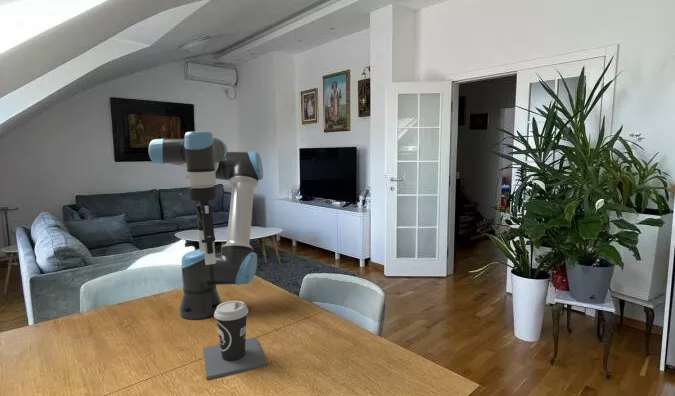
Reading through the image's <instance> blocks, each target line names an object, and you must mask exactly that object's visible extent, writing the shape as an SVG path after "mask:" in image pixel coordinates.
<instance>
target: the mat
mask: <svg viewBox="0 0 675 396" xmlns="http://www.w3.org/2000/svg"><path fill="white" fill-rule="evenodd" d="M202 351H203V359H204V368H205V375H206V380H207V381H208V380H211V379H215V378H220V377H224V376H225V377H226V376H228V375H233V374H237V373H242V372H245V371H249V370H254V369H259V368H263V367H266V366H268V363H267V361H266V357H265V355H264V353H263V351H262V348H261V345H260V343H259V341H258V338H257V336H255V337H249V338H248V337H247V338H246V342H245V355H244V356H243V357H242V358H241V359H239V360H236V361H226V360H224V359H223V358H222V354H221V347H220V343H219V344H215V345H214V344H213V345H211V346H209V345H208V346H204V347H203V348H202Z"/></svg>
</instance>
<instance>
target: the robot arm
mask: <svg viewBox="0 0 675 396" xmlns="http://www.w3.org/2000/svg"><path fill="white" fill-rule="evenodd" d="M148 155H149V156H148V157H149V158H150V160H151V162H152V163H155V164H162V165H164V164H171V165H175V166H179V167H181V168H186V172H187V175H185V176H184V178H185V179H186V180H187V185H188V186H189V187H188V189H187V190H188V200H189V201H192V202H196V205H195V210H196V215H197V216H196V217H197V218H196V219H197V221H196V222H197V224H196V226H197V230H198V244H199V248H198V249H195V250H191V251H188V252H186V253H184V255H182V257H181V267H180V268H181V275H182V276H181V277H182V287H183V295H182V298H181V302H180V306H179V316H180V317H181V318H183V319H187V320H202V319H207V318H210V317H214V313H215V310H216V309H217V306H218V305H219V304H221V303H223V300H222V299H221V297H220V293H219V291H218V289H217V286H218V285H219V286H220V285H237V286H240V285H249V284H251V282H253V280H254V277H255V275H256V272H257V266H258V254H257V253H256V252H254V248H253V247H252V245H250V241H251V230H252V229H251V228H252V217H253V204H254V203H253V202H254V190H255V188H256V187H257V186H258V185H259V181H262V180H263V179H264V168H263V167H264V166H263V162H262V158H261V156H260V154H259V153H258V151H249V150H247V151H228V148H227V145H226V143H225V142H224V141H223V140H221V139H220V138H217V137H213V133H212V132H211V131H187V132H185V134H184V138H164V137H163V138H155V139H152V140H151V141H150V143H149V145H148ZM216 180H220V181H228V183H229V184H230V185H231V195H230V205H229V214H228V215H229V216H228V224H227V232H226V233H227V234H226V236H227V237H226V243H224V245H222V246H221V251H220V252H216V249H215V248H216V247H215V246H216V245H215V242H216V236H215V230H214V222H213V213H212V211H213V207H212V205H211V204H210V203H209V201H214V200H216V199H217V187H216V186H215V185H216V184H217V181H216Z"/></svg>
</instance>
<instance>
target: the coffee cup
mask: <svg viewBox="0 0 675 396" xmlns="http://www.w3.org/2000/svg"><path fill="white" fill-rule="evenodd" d="M248 314H249V309H248V306H247V305H246V304H245V302H244V301H241V300H228V301H227V300H226V301H224V302H222V303H221V304H219V305H218V306H217V309H216V310H215V313H214V315H213V317H214V318H215V321H216V326H217V327H216V328H217V334H218V339H219V344H220V347H221V354H222V358H223V359H224V360H226V361H236V360H239V359H241V358H242V357H243V356H244V355H245V342H246V339H247V337H246V336H247V318H248V317H247V315H248Z"/></svg>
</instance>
